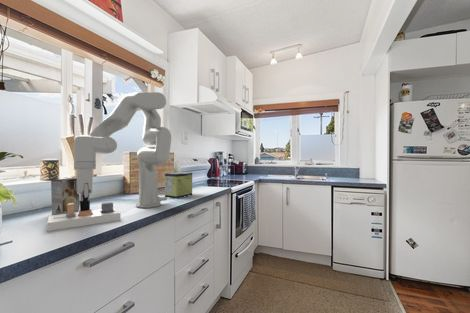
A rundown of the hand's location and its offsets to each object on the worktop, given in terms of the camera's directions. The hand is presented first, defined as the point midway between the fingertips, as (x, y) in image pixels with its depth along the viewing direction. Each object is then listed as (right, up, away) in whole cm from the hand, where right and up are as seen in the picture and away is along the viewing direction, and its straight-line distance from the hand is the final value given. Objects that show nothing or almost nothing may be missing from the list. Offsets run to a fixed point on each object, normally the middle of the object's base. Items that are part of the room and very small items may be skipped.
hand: (84, 210), depth 95 cm
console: (0, -5, 0) cm, 5 cm away
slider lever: (-4, -2, -3) cm, 5 cm away
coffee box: (-19, -5, +15) cm, 24 cm away
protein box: (+24, -5, +59) cm, 64 cm away
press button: (0, -4, 0) cm, 5 cm away
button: (+6, -3, +5) cm, 9 cm away
